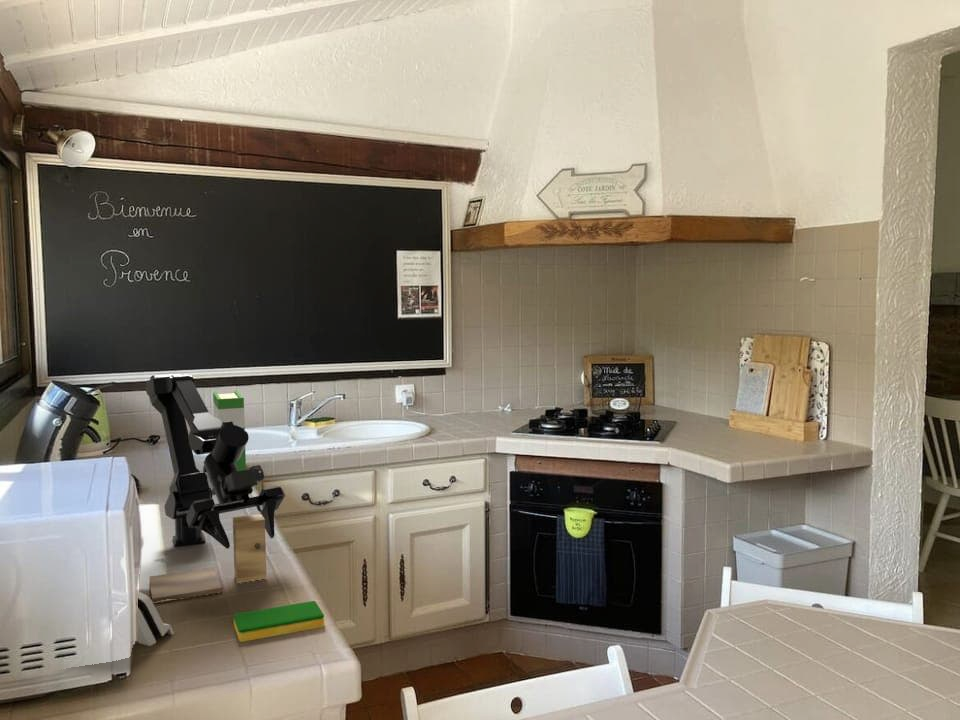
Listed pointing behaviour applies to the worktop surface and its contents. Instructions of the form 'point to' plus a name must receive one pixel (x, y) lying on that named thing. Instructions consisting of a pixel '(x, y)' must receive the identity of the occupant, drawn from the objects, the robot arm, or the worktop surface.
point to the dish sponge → (278, 621)
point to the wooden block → (249, 548)
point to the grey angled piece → (150, 621)
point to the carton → (231, 415)
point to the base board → (185, 584)
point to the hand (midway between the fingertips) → (251, 542)
